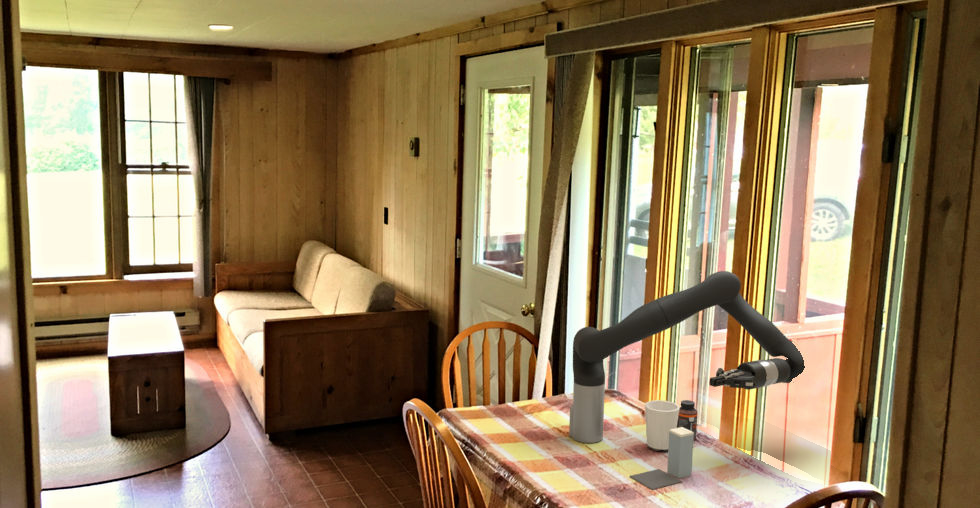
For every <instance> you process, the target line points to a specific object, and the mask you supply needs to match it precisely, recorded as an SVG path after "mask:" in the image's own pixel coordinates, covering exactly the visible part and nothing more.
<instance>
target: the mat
mask: <svg viewBox="0 0 980 508" xmlns="http://www.w3.org/2000/svg"><path fill="white" fill-rule="evenodd" d="M629 478H631V479H633V480H635V481H636V482H637V483H639V482H640V483H639V484H641V485H643V486H644V485H645V487H647V488H648V489H650V490H653V491H654V490H656V489H661V488H665V487H668V486H670V487H671V486H674V485H677V484H680V483H682V482H683V481H682V480H680V479H679V478H677V477H675V476H673V475H671V474H670V473H668V472H667V471H664V470H662V469H660V468H658V469H657V468H656V469H653V470H649V471H645V472H640V473H636V474H632V475H629Z"/></svg>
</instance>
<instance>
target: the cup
mask: <svg viewBox="0 0 980 508" xmlns="http://www.w3.org/2000/svg"><path fill="white" fill-rule="evenodd" d="M679 408H680V405H679V404H677V403H676V402H672V401H669V400H661V399H660V400H659V399H657V400H656V399H654V400H650V401H646V402H645V403H644V410H645V411H644V413H645V428H646V431H645V433H646V445H647V448H649V449H652V450H653V451H654V452H659V451H664V452H666V453H668V447H669V430H670V429H675V428H677V421H678V415H679Z"/></svg>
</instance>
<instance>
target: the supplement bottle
mask: <svg viewBox="0 0 980 508" xmlns="http://www.w3.org/2000/svg"><path fill="white" fill-rule="evenodd" d="M695 407H696V406H695V401H693V400H688V399H687V400H686V399H684V400H681V401H680V406H679V415H678V421H677V428H680V427H683V428H686V429H688V430H690V431H692V432H694V439H693V441H694V440H696V439H697V429H698V410H697V409H696V408H695Z"/></svg>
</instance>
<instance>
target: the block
mask: <svg viewBox="0 0 980 508" xmlns="http://www.w3.org/2000/svg"><path fill="white" fill-rule="evenodd" d="M693 439H694V432H692V431H690V430H688V429H686V428H683V427H680V428H675V429H670V430H669V447H668V452H667V469H666V470H667V471H666V473H667V474H669V475H671V476H673V477H675V478H677V479H681V478H686V477H690V476H692V475H693V474H692V473H693V472H692V471H693V454H694V440H693Z"/></svg>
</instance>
